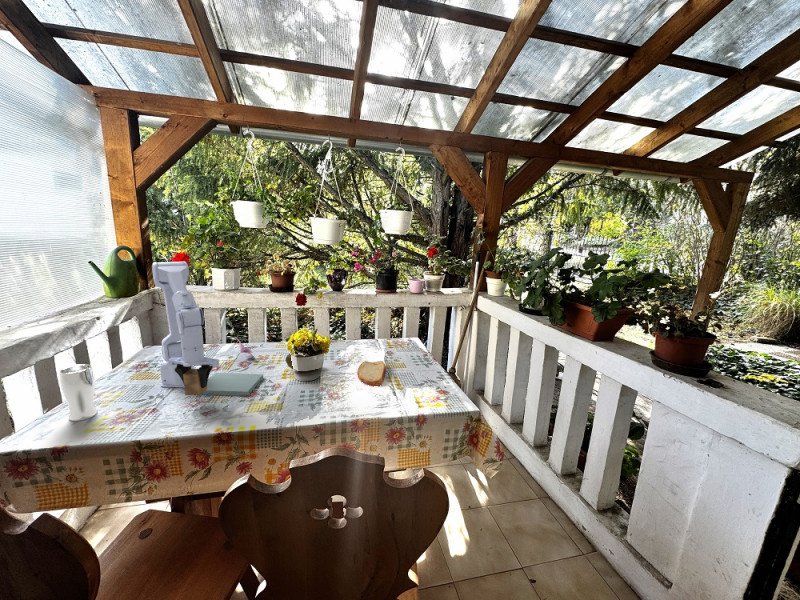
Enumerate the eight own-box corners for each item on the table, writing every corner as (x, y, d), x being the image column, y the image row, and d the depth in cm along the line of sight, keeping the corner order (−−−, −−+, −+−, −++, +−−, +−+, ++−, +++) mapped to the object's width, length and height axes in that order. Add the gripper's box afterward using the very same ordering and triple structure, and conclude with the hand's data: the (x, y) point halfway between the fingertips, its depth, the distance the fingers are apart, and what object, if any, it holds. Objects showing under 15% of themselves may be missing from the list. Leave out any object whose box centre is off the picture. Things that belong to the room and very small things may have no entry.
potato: (317, 375, 134) (316, 356, 132) (284, 374, 133) (283, 355, 131) (320, 366, 142) (320, 348, 140) (289, 366, 141) (288, 348, 139)
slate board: (194, 393, 115) (194, 389, 114) (216, 376, 128) (215, 372, 128) (247, 395, 115) (247, 391, 115) (263, 377, 129) (263, 374, 129)
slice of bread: (374, 389, 125) (374, 380, 124) (342, 374, 136) (342, 366, 135) (404, 374, 138) (405, 366, 137) (373, 362, 149) (373, 354, 148)
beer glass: (80, 409, 102) (73, 363, 99) (105, 409, 103) (98, 363, 100) (60, 422, 96) (51, 373, 93) (86, 422, 96) (78, 373, 93)
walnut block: (185, 395, 105) (183, 374, 103) (193, 388, 109) (191, 368, 108) (199, 395, 105) (197, 374, 103) (207, 388, 109) (205, 368, 108)
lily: (251, 367, 141) (261, 345, 143) (222, 358, 137) (232, 336, 139) (252, 365, 152) (261, 344, 154) (225, 356, 148) (234, 336, 150)
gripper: (160, 349, 100) (164, 391, 103) (209, 351, 100) (212, 393, 103) (175, 342, 107) (179, 381, 109) (221, 343, 107) (223, 382, 110)
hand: (196, 386), depth 107 cm, fingers closed on walnut block, 4 cm apart
